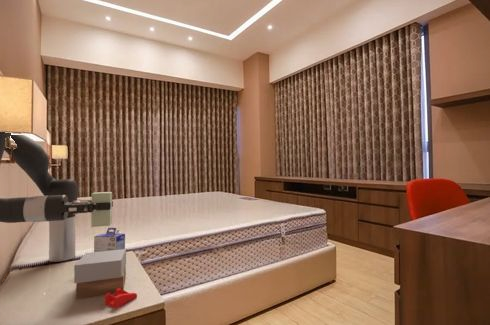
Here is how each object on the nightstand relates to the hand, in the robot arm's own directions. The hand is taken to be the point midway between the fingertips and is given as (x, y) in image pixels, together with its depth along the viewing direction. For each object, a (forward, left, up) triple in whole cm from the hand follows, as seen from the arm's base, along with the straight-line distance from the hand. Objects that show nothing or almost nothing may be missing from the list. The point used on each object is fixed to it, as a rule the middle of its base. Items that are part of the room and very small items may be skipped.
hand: (111, 204), depth 83 cm
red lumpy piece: (+12, +4, -26) cm, 29 cm away
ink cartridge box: (-19, -3, -26) cm, 32 cm away
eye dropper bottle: (-29, -1, -26) cm, 39 cm away
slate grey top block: (0, -2, -21) cm, 21 cm away
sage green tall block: (0, -3, -6) cm, 7 cm away
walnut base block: (0, -2, -26) cm, 26 cm away
